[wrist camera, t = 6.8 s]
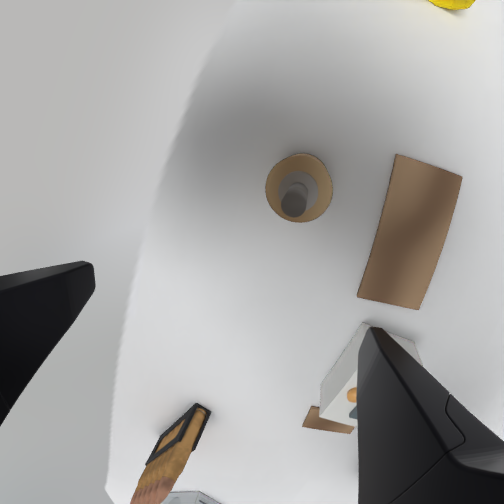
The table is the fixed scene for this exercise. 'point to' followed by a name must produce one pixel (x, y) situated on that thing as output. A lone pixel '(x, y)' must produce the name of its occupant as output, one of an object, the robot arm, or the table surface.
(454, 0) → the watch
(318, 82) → the table surface
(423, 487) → the robot arm
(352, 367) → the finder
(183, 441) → the ammunition clip
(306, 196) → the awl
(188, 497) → the skincare box
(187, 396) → the table surface
